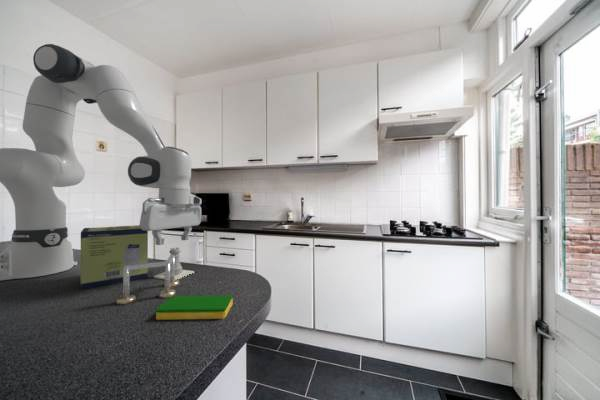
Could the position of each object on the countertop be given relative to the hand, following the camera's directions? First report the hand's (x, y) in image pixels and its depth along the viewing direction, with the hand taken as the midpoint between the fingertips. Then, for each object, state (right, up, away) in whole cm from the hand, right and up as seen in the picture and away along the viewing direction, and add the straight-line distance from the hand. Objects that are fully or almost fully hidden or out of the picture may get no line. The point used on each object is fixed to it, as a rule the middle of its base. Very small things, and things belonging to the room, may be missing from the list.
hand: (173, 242), depth 74 cm
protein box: (-15, -11, -3) cm, 19 cm away
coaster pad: (+1, -11, 0) cm, 11 cm away
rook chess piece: (0, -10, 0) cm, 10 cm away
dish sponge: (+18, -11, -23) cm, 32 cm away
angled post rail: (+4, -11, -14) cm, 18 cm away
